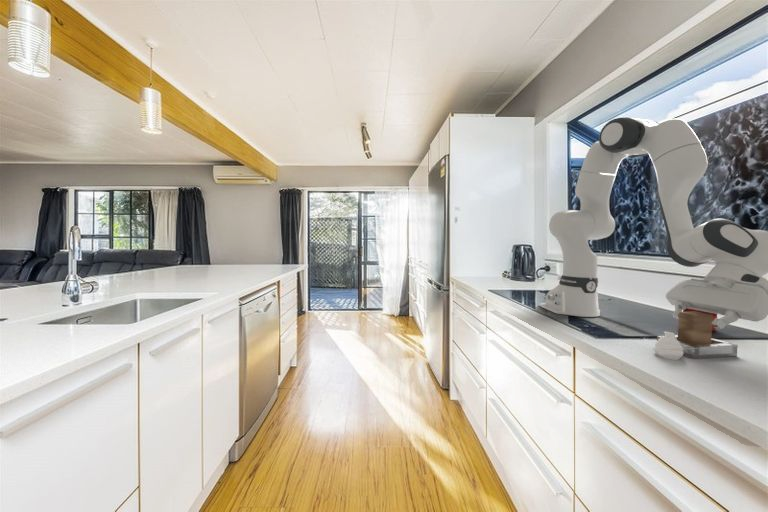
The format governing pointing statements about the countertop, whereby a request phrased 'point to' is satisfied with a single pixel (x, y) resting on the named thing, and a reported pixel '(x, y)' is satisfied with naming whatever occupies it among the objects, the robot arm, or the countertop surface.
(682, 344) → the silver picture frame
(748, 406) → the countertop surface
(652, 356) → the countertop surface
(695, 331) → the brown rectangular block
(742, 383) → the countertop surface
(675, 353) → the garlic bulb
